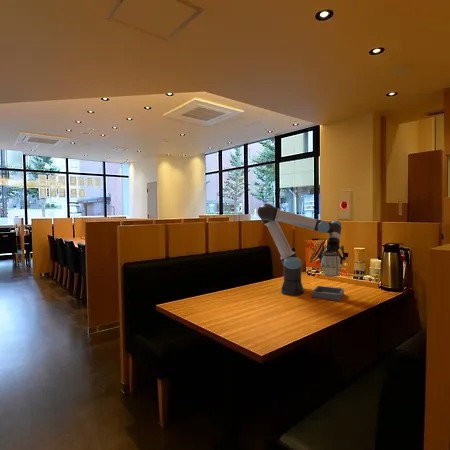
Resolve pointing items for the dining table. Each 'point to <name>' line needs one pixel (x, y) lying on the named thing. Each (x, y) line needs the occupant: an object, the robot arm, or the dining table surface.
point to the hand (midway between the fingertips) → (330, 267)
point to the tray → (328, 293)
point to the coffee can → (330, 264)
